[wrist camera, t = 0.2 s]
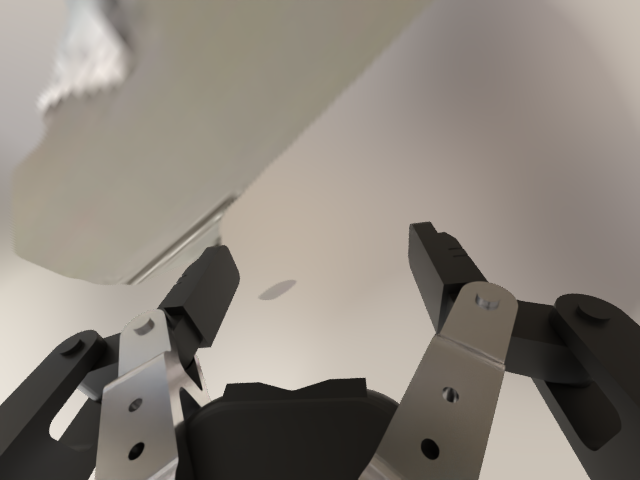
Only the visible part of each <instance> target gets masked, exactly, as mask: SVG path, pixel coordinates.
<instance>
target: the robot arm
mask: <svg viewBox="0 0 640 480" xmlns="http://www.w3.org/2000/svg"><path fill="white" fill-rule="evenodd" d="M408 257H409V264H410V268H411V271H412V273H413V276H414V278H415V281H416V283H417V286H418V288H419V291H420V293H421V296H422V298H423V301H424V303H425V306H426V309H427V311H428V313H429V316H430V319H431V321H432V324H433V326H434V328H435V331H436V334H435V336H434V337H433V338H432V340H431V342H430V344H429V346H428V348H427V350H426V352H425V354H424V356H423V358H422V360H421V362H420V364H419V366H418V368H417V370H416V372H415V374H414V376H413V378H412V380H411V382H410V384H409V386H408V388H407V390H406V392H405V394H404V396H403V398H402V400H401V402H400V404H399V403H397V402H396V401H394V400H393V399H391V398H389V397H388V396H386V395H384V394H381V393H379V392H376V391H373V390H369V389H367V387H366V379H365V378H350V379H329V380H326V381H323V382H320V383H317V384H314V385H310V386H307V387H304V388H301V389H298V390H293V391H291V390H286V389H282V388H278V387H275V386H271V385H267V384H263V383H259V382H257V383H234V384H227V385H226V388H225V391H224V394H223V396H222V397H219V398H217V399H215V400H213V401H211V400H210V397H209V395H208V391H207V388H206V384H205V381H204V377H203V373H202V370H201V366H200V363H199V359H198V357H197V356H196V355H195V353H196V351H197V349H198V348H206V347H211V346H212V343H213V341H214V339H215V337H216V334H217V332H218V330H219V328H220V325H221V323H222V321H223V319H224V316H225V314H226V312H227V310H228V307H229V305H230V303H231V301H232V298H233V296H234V294H235V292H236V289H237V287H238V284H239V280H240V276H239V271H238V269H237V267H236V264H235V262H234V260H233V258H232V255H231V254H230V251H229V249H228V248H227V246H225V245H222V246H213V247H207V248H206V249H205V251H204V252H203V254H202V255H201V256H200V258H199V259H197V260H196V261H195V262H194V263H192V264H191V265H190V266H189V267H188V268H187V269H186V270H185V272H184V273H183V274H182V277H180V278H179V280H178V281H177V284H176V285H174V286H173V288H172V289H171V291H170V292H169V293H168V295H167V296H166V297H165V299H164V300H163V301H162V303H161V304H160V305H159V307H158V308H157V309H153V310H149V311H146V312H144V313H142V314H140V315H138V316H137V317H135V318H134V319H132V320H131V321H130V322H129V323H128V324H127V325H126V326H125V327H124V329H123V330H122V332H121V333H118V334H115V335H112V336H109V337H106V338H102V337H101V336H100V335H99V334H98V333H97V332H96V331H94V330H86V331H83V332H80V333H77V334H75V335H73V336H71V337H70V338H68V339H66V340H65V341H63V342H62V343H61V344H60V345H58V346H57V347H56V348H55V349H54V350H53V351H52V352H51V353H50V354H49V355H48V356H47V357H46V358H45V359H44V360H43V362H42V363H41V364H40V365H39V366H38V367H37V368H36V369H35V370H34V371H33V372H32V373H31V374H30V375H29V376H28V377H27V379H25V380H24V381H23V382H22V383H21V385H20V386H19V387H18V388H17V389H16V390H15V391H14V392H13V393H12V394H11V395H10V396H9V397H8V398H7V399H6V400H5V401H4V402H3V403H2V404H1V406H0V480H88V479H89V477H90V475H91V474H92V472H93V470H94V468H95V467H96V470H95V471H96V472H95V480H478V479H479V475H480V470H481V466H482V462H483V458H484V454H485V450H486V446H487V441H488V438H489V434H490V429H491V425H492V421H493V417H494V413H495V409H496V405H497V401H498V397H499V393H500V389H501V384H502V380H503V376H504V372H505V371H508V372H511V373H515V374H520V375H524V376H528V377H531V378H532V380H533V382H534V383H535V385H536V387H537V388H538V390H539V392H540V394H541V395H542V397H543V399H544V400H545V402H546V404H547V406H548V407H549V409H550V411H551V412H552V414H553V416H554V418H555V419H556V421H557V423H558V424H559V426H560V428H561V430H562V431H563V433H564V435H565V436H566V438H567V440H568V442H569V443H570V445H571V447H572V449H573V450H574V452H575V454H576V455H577V457H578V459H579V461H580V462H581V464H582V466H583V467H584V469H585V471H586V472H587V474H588V476H589V477H590V479H591V480H640V326H639V325H638V324H637V323H636V322H634V321H633V320H632V319H631V318H630V317H629V316H628V315H627V314H625V313H624V312H623V311H622V310H621V309H619V308H617V307H616V306H614V305H612V304H611V303H608V302H606V301H604V300H602V299H599V298H596V297H593V296H589V295H584V294H566V295H562V296H560V297H559V298H557V300H556V302H555V304H554V306H552V305H545V304H538V303H531V302H525V301H519V300H516V299H515V297H514V296H513V295H512V294H511V293H510V292H509V291H508V290H506V289H504V288H503V287H501V286H499V285H496V284H493V283H489V282H488V281H487V280H486V278H485V277H484V276H483V274H482V273H481V272H480V270H479V269H478V268H477V266H476V265H475V264H474V262H473V261H472V260H471V258H470V257H469V256H468V254H467V253H466V251H465V250H464V249H462V247H461V245H460V244H459V242H458V241H457V239H456V238H454V237H452V236H451V235H449V234H447V233H445V232H442V233H437V231H436V230H435V228H434V227H433V225H432V224H431V222H422V223H414V224H410V227H409V250H408ZM76 388H77V389H79V390H80V391H81V392H83V393H84V394H85V395H87V396H88V397H89V398H88V400H87V401H86V402H85V404H84V405H83V407H82V408H81V409H80V411H79V412H78V414H77V415H76V417H75V418H74V419H73V421H72V422H71V424H70V425H69V426H68V428H67V429H66V431H65V432H64V434H63V435H62V436H61V438H60V439H59V441H57V440H55V439H53V438H52V437H51V436H50V434H49V427H50V424H51V422H52V420H53V418H54V417H55V416H56V414H57V413H58V412H59V410H60V409H61V408H62V407H63V405H64V404H65V403H66V401H67V400H68V399H69V397H70V396H71V395H72V393H73V392H74V391H75V390H76Z"/></svg>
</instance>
